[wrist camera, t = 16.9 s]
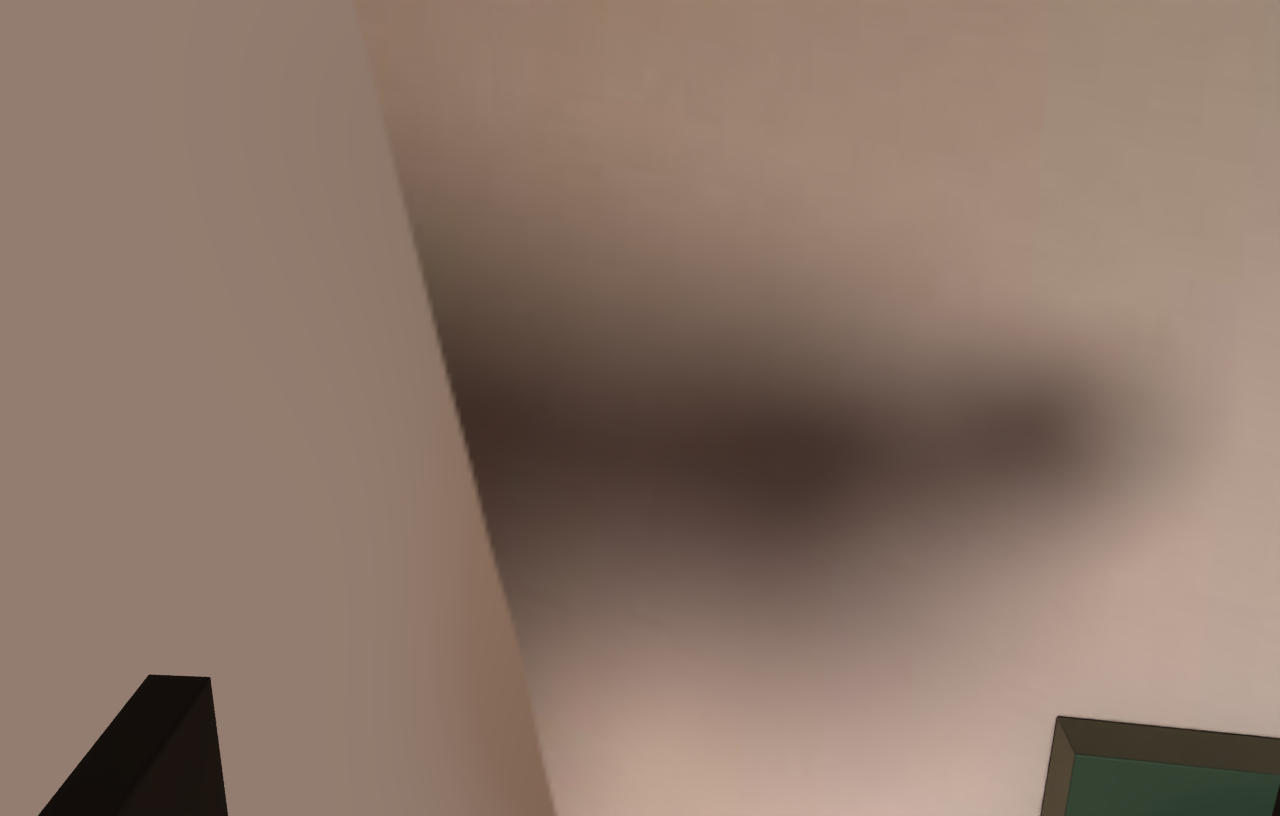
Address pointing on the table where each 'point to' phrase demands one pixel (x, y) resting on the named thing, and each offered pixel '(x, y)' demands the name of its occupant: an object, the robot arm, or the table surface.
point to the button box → (1158, 772)
